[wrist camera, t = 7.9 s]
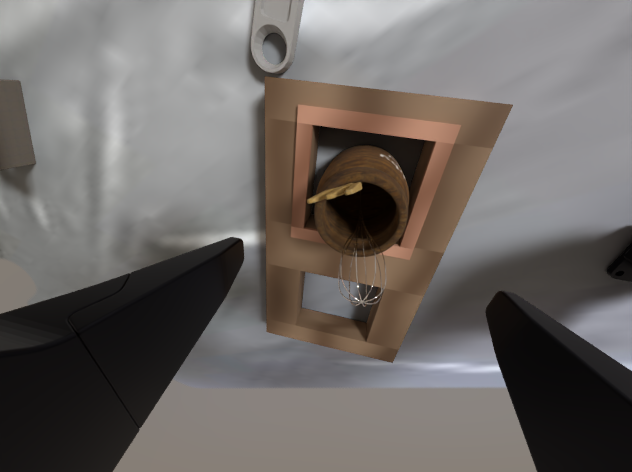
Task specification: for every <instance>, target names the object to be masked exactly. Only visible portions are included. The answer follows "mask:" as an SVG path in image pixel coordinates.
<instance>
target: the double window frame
mask: <svg viewBox="0 0 632 472" xmlns="http://www.w3.org/2000/svg"><path fill="white" fill-rule="evenodd" d="M512 106H513V105H510V104H501V103H492V102H484V101H475V100H466V99H457V98H449V97H440V96H431V95H423V94H414V93H405V92H396V91H388V90H379V89H370V88H361V87H353V86H344V85H335V84H327V83H318V82H309V81H300V80H292V79H283V78H274V77H266V76H265V187H266V315H267V332H269V333H273V334H277V335H281V336H285V337H289V338H293V339H297V340H301V341H306V342H310V343H314V344H318V345H322V346H326V347H330V348H334V349H338V350H342V351H346V352H350V353H355V354H359V355H363V356H367V357H371V358H375V359H379V360H383V361H387V362H391V363H393V361H394V359H395V356H396V354H397V352H398V350H399V348H400V346H401V344H402V341H403V339H404V337H405V335H406V333H407V331H408V329H409V327H410V324H411V322H412V320H413V318H414V316H415V314H416V312H417V309H418V307H419V305H420V303H421V301H422V299H423V297H424V294H425V292H426V290H427V288H428V286H429V284H430V282H431V279H432V277H433V275H434V273H435V271H436V269H437V267H438V265H439V262H440V260H441V258H442V256H443V254H444V252H445V250H446V247H447V245H448V243H449V241H450V239H451V237H452V235H453V232H454V230H455V228H456V226H457V224H458V222H459V220H460V217H461V215H462V213H463V211H464V209H465V207H466V205H467V202H468V200H469V198H470V196H471V194H472V192H473V190H474V188H475V185H476V183H477V181H478V179H479V177H480V175H481V173H482V170H483V168H484V166H485V164H486V162H487V160H488V158H489V155H490V153H491V151H492V149H493V147H494V145H495V143H496V140H497V138H498V136H499V134H500V132H501V130H502V128H503V125H504V123H505V121H506V119H507V117H508V115H509V113H510V111H511V108H512ZM320 126H325V127H333V128H340V129H347V130H355V131H362V132H369V133H377V134H384V135H392V136H399V137H406V138H414V139H421V140H425V142H424V145H423V148H422V152H421V155H420V158H419V161H418V164H417V167H416V170H415V173H414V177H413V180H412V183H411V186H410V189H409V205H408V219H407V224H406V227H405V230H404V232H403V234H402V236H401V237H400V239H399V240H398V241H397V242H396V243H395V244H394V245H393V246H392V247H391V248H389V249H388V250H386V251H384V252H382V253H383V256H384V259H385V265H386V285H385V265H384V259H383V256H382V253H380V254H377V255H376V257H377V260H378V262H377V260H376V276H375V280H374V275H375V256H369V257H365V263H364V257H357V278H358V283H362V284H366V281H367V285H371V286H372V284H373V280H374V284H373V286H376V287H378V289H377V292H376V295H375V297H376V296H377V295H379V294H380V292H381V281H382V290H383V288H384V285H385V288H384V290H383V292H382V295H381V294H380V295H381V298H380V295H379V296H378V297H377V298H375V299H374V301H373V303H375V302H376V301H378V299H379V298H380V300H379V301H378V302H377V303H375V304H372V307H371V311H370V314H369V317H368V320H367V323H366V322H361V321H357V320H352V319H348V318H344V317H339V316H335V315H331V314H326V313H322V312H317V311H313V310H309V309H304V308H301V307H302V298H303V288H304V278H305V272H309V273H314V274H319V275H324V276H328V277H333V278H339V279H341V272H342V279H343V280H348V281H349V274H350V281H352V282H357V278H356V257H353V260H352V256H348V255H343V254H342V253H339V252H337V251H336V250H334V249H332V248H331V247H330V246H329V245H327V244H326V243H325V241H324V240H323V239H322V238H321V236H320V235H319V233H318V231H317V228H316V225H315V220H314V215H313V214H311V209H312V203H311V204H308V203H307V199H309V198H311V197H313V190H314V180H315V170H316V160H317V150H318V140H319V131H320ZM341 254H342V256H343V258H342V270H341V265H340V261H341ZM351 261H352V265H351ZM378 263H379V266H380V271H381V280H380V271H379V266H378ZM365 265H366V277H365ZM339 266H340V275H339ZM350 266H351V272H350Z"/></svg>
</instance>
